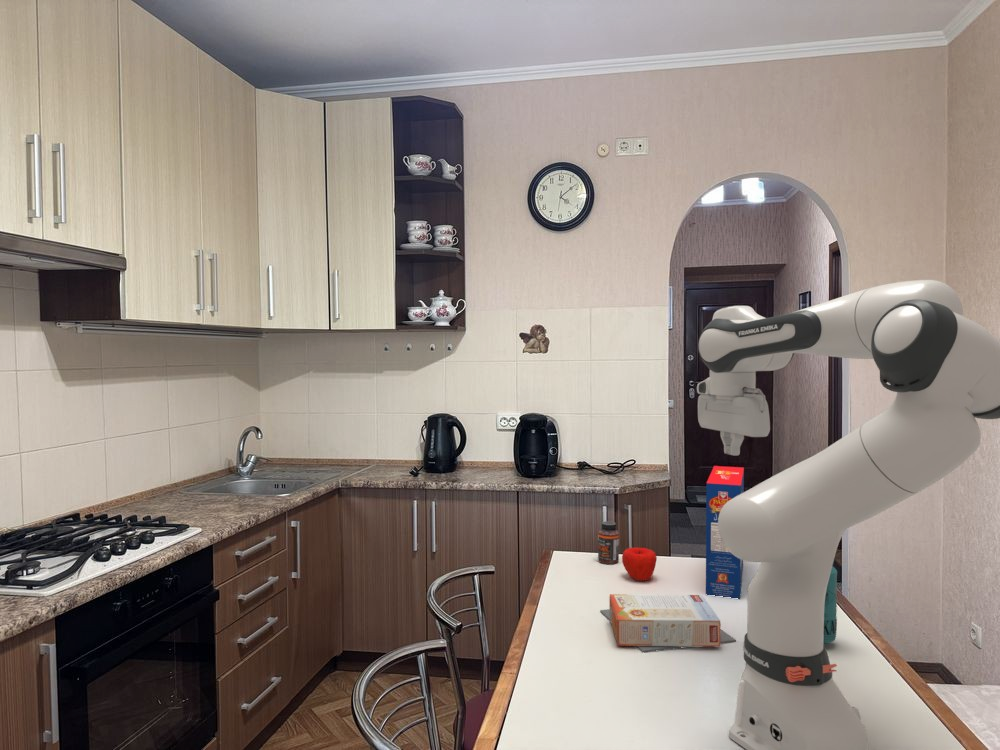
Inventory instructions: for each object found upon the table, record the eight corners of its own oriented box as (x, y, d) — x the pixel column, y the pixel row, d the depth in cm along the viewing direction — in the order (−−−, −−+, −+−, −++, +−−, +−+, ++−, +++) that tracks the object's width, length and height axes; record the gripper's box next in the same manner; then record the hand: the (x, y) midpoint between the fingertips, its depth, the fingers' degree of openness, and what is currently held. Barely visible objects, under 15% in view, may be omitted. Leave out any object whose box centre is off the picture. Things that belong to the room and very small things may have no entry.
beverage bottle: (798, 636, 141) (799, 541, 140) (832, 638, 139) (833, 543, 139) (805, 649, 134) (806, 550, 134) (841, 652, 133) (842, 552, 132)
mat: (736, 641, 138) (736, 639, 138) (642, 652, 133) (642, 650, 133) (682, 603, 159) (682, 602, 159) (600, 611, 154) (600, 610, 154)
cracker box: (616, 647, 135) (721, 648, 134) (616, 618, 134) (721, 618, 133) (609, 620, 149) (704, 620, 147) (608, 593, 148) (704, 593, 147)
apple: (615, 578, 177) (615, 549, 177) (635, 571, 183) (635, 543, 183) (643, 587, 171) (643, 556, 171) (663, 579, 177) (663, 550, 177)
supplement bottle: (594, 562, 191) (594, 523, 191) (603, 557, 196) (603, 519, 196) (613, 566, 188) (613, 526, 188) (622, 560, 193) (622, 522, 193)
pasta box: (713, 562, 191) (714, 466, 190) (743, 566, 188) (743, 467, 187) (705, 595, 165) (706, 483, 164) (740, 599, 162) (740, 485, 161)
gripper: (778, 388, 126) (778, 461, 126) (718, 384, 145) (718, 447, 146) (749, 389, 124) (748, 462, 124) (692, 384, 144) (692, 448, 144)
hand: (731, 454), depth 135 cm, fingers closed
